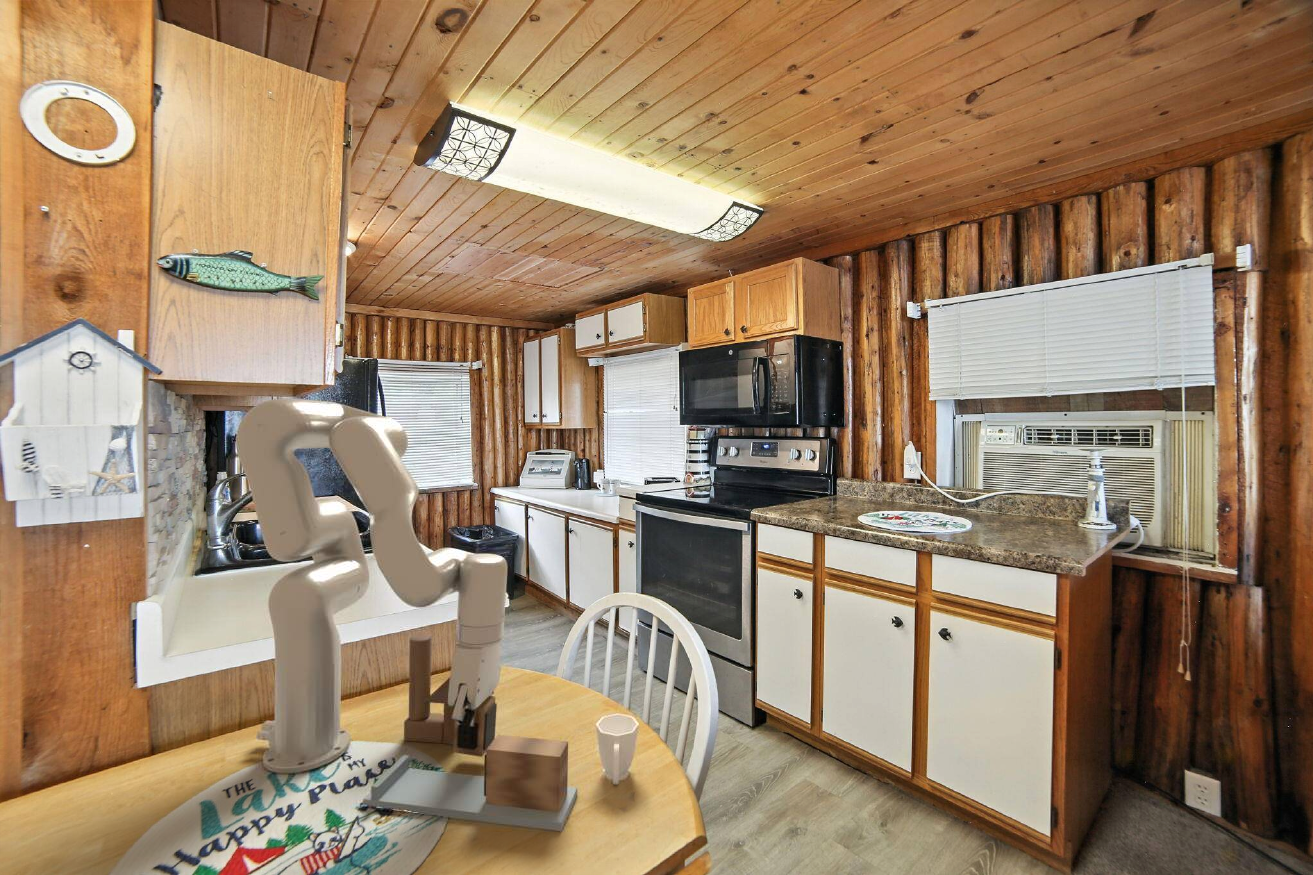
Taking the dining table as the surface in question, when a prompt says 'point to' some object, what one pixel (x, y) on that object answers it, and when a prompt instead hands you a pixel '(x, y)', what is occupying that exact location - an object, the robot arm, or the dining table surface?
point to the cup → (617, 744)
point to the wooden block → (426, 698)
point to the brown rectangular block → (480, 728)
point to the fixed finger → (526, 773)
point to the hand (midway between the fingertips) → (473, 738)
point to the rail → (456, 798)
